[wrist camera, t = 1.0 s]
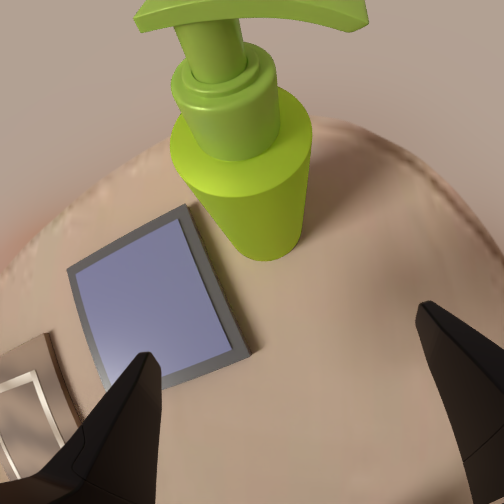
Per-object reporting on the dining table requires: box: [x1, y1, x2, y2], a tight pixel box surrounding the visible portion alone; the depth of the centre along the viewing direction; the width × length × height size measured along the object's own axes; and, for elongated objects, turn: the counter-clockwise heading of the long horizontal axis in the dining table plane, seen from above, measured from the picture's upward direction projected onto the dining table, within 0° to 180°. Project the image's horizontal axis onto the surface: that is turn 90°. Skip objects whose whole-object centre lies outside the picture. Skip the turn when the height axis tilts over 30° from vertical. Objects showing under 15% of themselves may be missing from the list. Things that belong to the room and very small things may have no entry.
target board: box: [0, 333, 82, 481], centre depth 22 cm, size 20×20×1 cm
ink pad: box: [67, 204, 252, 392], centre depth 24 cm, size 13×13×1 cm
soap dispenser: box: [133, 0, 369, 261], centre depth 15 cm, size 6×7×20 cm
